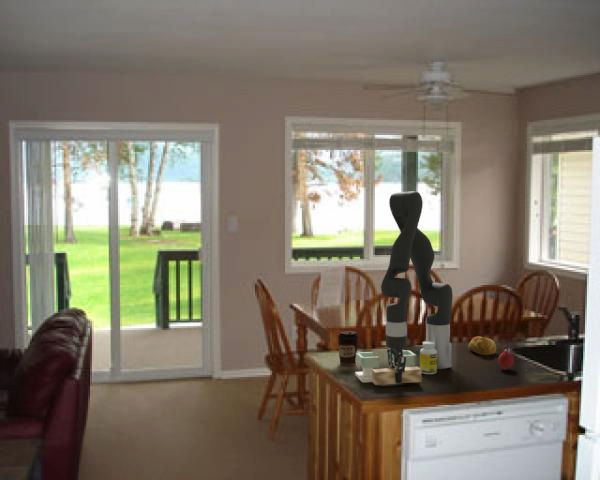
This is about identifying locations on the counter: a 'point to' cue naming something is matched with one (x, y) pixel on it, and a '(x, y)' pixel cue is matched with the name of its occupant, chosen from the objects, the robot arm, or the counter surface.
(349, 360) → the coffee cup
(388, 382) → the tan rectangular bar
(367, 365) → the bracket stand
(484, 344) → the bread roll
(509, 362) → the onion
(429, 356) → the pill bottle
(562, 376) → the counter surface
